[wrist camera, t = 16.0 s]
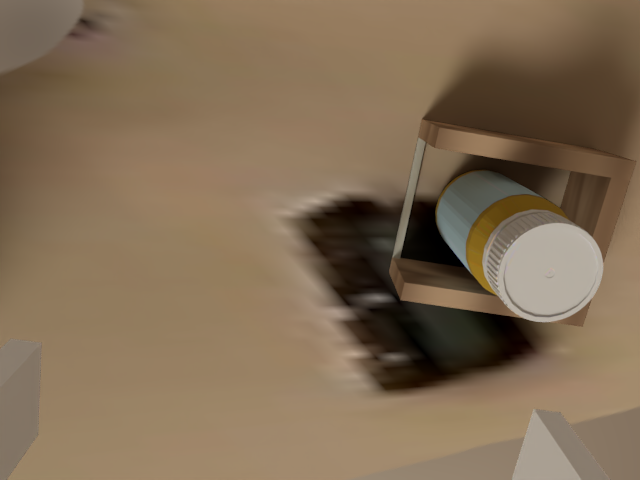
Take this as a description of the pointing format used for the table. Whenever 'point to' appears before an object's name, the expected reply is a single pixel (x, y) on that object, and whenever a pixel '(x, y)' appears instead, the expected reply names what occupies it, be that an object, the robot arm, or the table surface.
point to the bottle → (519, 245)
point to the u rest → (584, 163)
